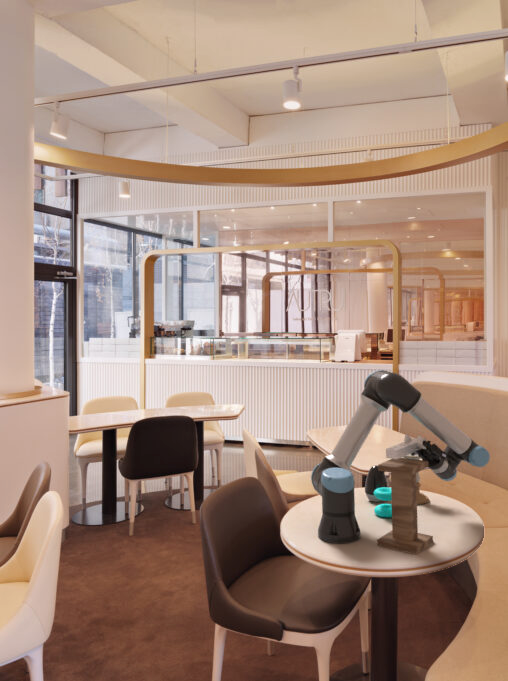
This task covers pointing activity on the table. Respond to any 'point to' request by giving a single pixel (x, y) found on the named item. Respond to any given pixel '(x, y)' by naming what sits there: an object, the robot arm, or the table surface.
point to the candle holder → (420, 496)
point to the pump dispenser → (375, 483)
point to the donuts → (385, 495)
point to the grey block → (403, 449)
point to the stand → (404, 506)
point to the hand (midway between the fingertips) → (412, 438)
